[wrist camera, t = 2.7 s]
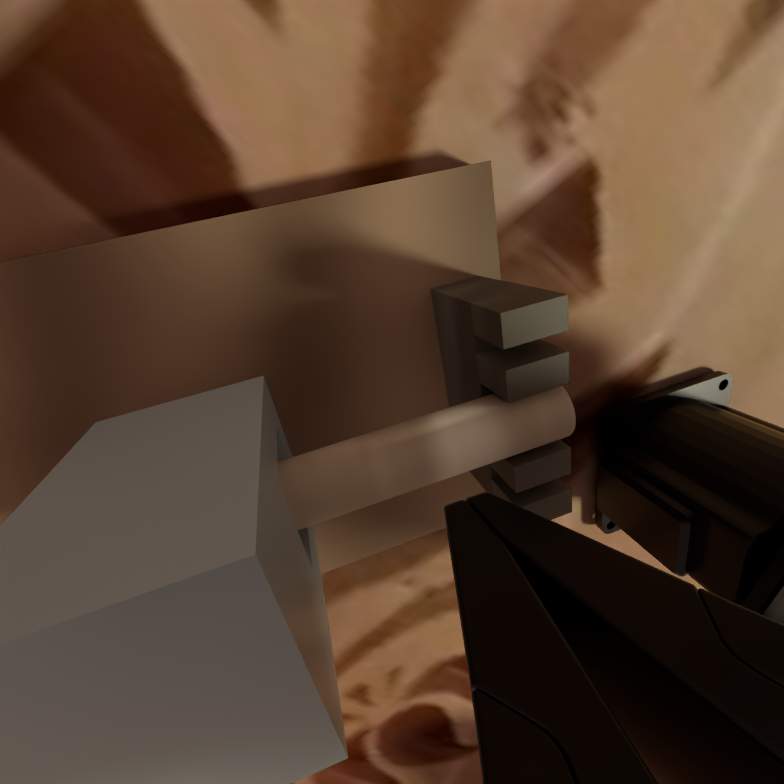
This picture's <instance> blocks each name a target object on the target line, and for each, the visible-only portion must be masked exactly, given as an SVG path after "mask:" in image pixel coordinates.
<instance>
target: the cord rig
mask: <svg viewBox="0 0 784 784" xmlns="http://www.w3.org/2000/svg"><path fill="white" fill-rule="evenodd" d="M568 330H569V323H568V294H563V293H558V292H554V291H549V290H544V289H539V288H535V287H530V286H525V285H520V284H515V283H511V282H506V281H501V276H500V264H499V252H498V240H497V229H496V217H495V205H494V193H493V182H492V170H491V161H486V162H481V163H476V164H471V165H466V166H462V167H457V168H452V169H447V170H442V171H437V172H433V173H428V174H423V175H418V176H413V177H409V178H404V179H399V180H394V181H389V182H384V183H380V184H375V185H370V186H365V187H360V188H355V189H351V190H346V191H341V192H336V193H331V194H327V195H322V196H317V197H312V198H307V199H302V200H298V201H293V202H288V203H283V204H278V205H273V206H269V207H264V208H259V209H254V210H249V211H245V212H240V213H235V214H230V215H225V216H220V217H216V218H211V219H206V220H201V221H196V222H191V223H187V224H182V225H177V226H172V227H167V228H163V229H158V230H153V231H148V232H143V233H138V234H134V235H129V236H124V237H119V238H114V239H110V240H105V241H100V242H95V243H90V244H85V245H81V246H76V247H71V248H66V249H61V250H56V251H52V252H47V253H42V254H37V255H32V256H28V257H23V258H18V259H13V260H8V261H3V262H0V526H1V525H2V524H3V523H4V522H5V520H6V519H7V518H8V517H9V516H10V515H11V514H12V513H13V512H14V511H15V510H16V509H17V507H18V506H19V505H20V504H21V503H22V502H23V501H24V500H25V499H26V498H27V497H28V495H29V494H30V493H31V492H32V491H33V490H34V489H35V488H36V487H37V486H38V485H39V483H40V482H41V481H42V480H43V479H44V478H45V477H46V476H47V475H48V474H49V473H50V472H51V470H52V469H53V468H54V467H55V466H56V465H57V464H58V463H59V462H60V461H61V460H62V458H63V457H64V456H65V455H66V454H67V453H68V452H69V451H70V450H71V449H72V448H73V446H74V445H75V444H76V443H77V442H78V441H79V440H80V439H81V438H82V437H83V436H84V435H85V433H86V432H87V431H88V430H89V429H90V428H91V427H92V426H93V425H94V424H95V423H96V422H98V421H102V420H106V419H109V418H113V417H116V416H120V415H124V414H127V413H131V412H134V411H138V410H142V409H145V408H149V407H152V406H156V405H160V404H163V403H167V402H170V401H174V400H178V399H181V398H185V397H188V396H192V395H196V394H199V393H203V392H206V391H210V390H214V389H217V388H221V387H224V386H228V385H232V384H235V383H239V382H242V381H246V380H250V379H253V378H257V377H260V376H264V378H265V380H266V383H267V386H268V389H269V392H270V394H271V397H272V400H273V403H274V406H275V409H276V411H277V414H278V417H279V420H280V423H281V425H282V428H283V431H284V434H285V437H286V439H287V442H288V445H289V448H290V451H291V453H292V456H293V457H291V458H288V459H285V460H282V461H279V462H278V481H279V484H280V486H281V489H282V491H283V494H284V497H285V499H286V502H287V504H288V507H289V510H290V512H291V515H292V517H293V520H294V523H295V525H296V528H297V530H301V529H304V528H306V527H309V526H312V525H314V530H315V537H316V544H317V550H318V557H319V564H320V571H321V574H322V573H325V572H328V571H331V570H333V569H336V568H339V567H341V566H344V565H347V564H349V563H352V562H355V561H358V560H360V559H363V558H366V557H368V556H371V555H374V554H376V553H379V552H382V551H385V550H387V549H390V548H393V547H395V546H398V545H401V544H403V543H406V542H409V541H412V540H414V539H417V538H420V537H422V536H425V535H428V534H430V533H433V532H436V531H439V530H441V529H444V528H447V527H446V521H445V514H444V506H445V505H447V504H450V503H453V502H456V501H458V500H466V498H467V497H470V496H472V495H475V494H478V493H481V492H489V493H491V494H493V495H496V496H498V497H500V498H502V499H504V500H507V501H509V502H511V503H513V504H516V505H518V506H520V507H522V508H524V509H527V510H529V511H531V512H533V513H535V514H538V515H540V516H542V517H544V518H546V519H549V520H552V519H554V518H557V517H560V516H562V515H565V514H567V513H570V512H572V489H571V488H570V487H569V486H568V485H567V484H566V483H564V482H563V481H562V480H561V479H560V477H562V476H565V475H568V474H570V473H571V447H569V446H568V445H567V444H565V443H564V442H562V441H561V440H560V439H562V438H565V437H568V436H570V435H571V434H572V433H573V431H574V429H575V424H576V416H575V410H574V407H573V404H572V401H571V399H570V397H569V395H568V393H567V391H566V390H565V389H564V387H563V385H566V384H569V383H570V378H569V351H567V350H564V349H562V348H559V347H557V346H554V345H552V344H549V343H547V342H544V341H542V340H539V339H541V338H544V337H548V336H551V335H555V334H558V333H561V332H565V331H568Z"/></svg>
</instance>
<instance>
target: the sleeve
mask: <svg viewBox="0 0 784 784" xmlns="http://www.w3.org/2000/svg"><path fill="white" fill-rule="evenodd" d="M291 457H293V456H292V453H291V451H290V448H289V445H288V442H287V439H286V437H285V434H284V431H283V428H282V425H281V423H280V420H279V417H278V414H277V411H276V409H275V406H274V403H273V400H272V397H271V394H270V392H269V389H268V386H267V383H266V380H265V378H264V376H260V377H257V378H253V379H250V380H246V381H242V382H239V383H235V384H232V385H228V386H224V387H221V388H217V389H214V390H210V391H206V392H203V393H199V394H196V395H192V396H188V397H185V398H181V399H178V400H174V401H170V402H167V403H163V404H160V405H156V406H152V407H149V408H145V409H142V410H138V411H134V412H131V413H127V414H124V415H120V416H116V417H113V418H109V419H106V420H102V421H98V422H96V423H95V424H94V425H93V426H92V427H91V428H90V429H89V430H88V431H87V432H86V433H85V435H84V436H83V437H82V438H81V439H80V440H79V441H78V442H77V443H76V444H75V445H74V446H73V448H72V449H71V450H70V451H69V452H68V453H67V454H66V455H65V456H64V457H63V458H62V460H61V461H60V462H59V463H58V464H57V465H56V466H55V467H54V468H53V469H52V470H51V472H50V473H49V474H48V475H47V476H46V477H45V478H44V479H43V480H42V481H41V482H40V483H39V485H38V486H37V487H36V488H35V489H34V490H33V491H32V492H31V493H30V494H29V495H28V497H27V498H26V499H25V500H24V501H23V502H22V503H21V504H20V505H19V506H18V507H17V509H16V510H15V511H14V512H13V513H12V514H11V515H10V516H9V517H8V518H7V519H6V520H5V522H4V523H3V524H2V525H1V526H0V784H292V783H294V782H296V781H299V780H301V779H303V778H305V777H307V776H310V775H312V774H314V773H316V772H318V771H321V770H323V769H325V768H327V767H329V766H332V765H334V764H336V763H338V762H340V761H343V760H345V759H347V758H348V753H347V747H346V740H345V733H344V726H343V720H342V713H341V706H340V699H339V692H338V686H337V679H336V672H335V665H334V659H333V652H332V645H331V638H330V632H329V625H328V618H327V611H326V605H325V598H324V591H323V584H322V577H321V571H320V564H319V557H318V550H317V544H316V537H315V530H314V525H312V526H309V527H306V528H304V529H301V530H297V528H296V525H295V523H294V520H293V517H292V515H291V512H290V510H289V507H288V504H287V502H286V499H285V497H284V494H283V491H282V489H281V486H280V484H279V481H278V462H279V461H282V460H285V459H288V458H291Z"/></svg>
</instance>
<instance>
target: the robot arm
mask: <svg viewBox="0 0 784 784" xmlns="http://www.w3.org/2000/svg"><path fill="white" fill-rule="evenodd" d="M732 383H733V377H732V376H731V375H730V374H727V373H724V372H721V371H716V372H713V373H710V374H707V375H704V376H701V377H698V378H695V379H692V380H689V381H686V382H683V383H680V384H677V385H675V386H672V387H669V388H666V389H663V390H660V391H657V392H654V393H651V394H648V395H645V396H642V397H639V398H636V399H634V400H631V401H628V402H625V403H622V404H619V405H616V406H613V407H610V408H607V409H606V410H604V411H603V412H602V413H601V414H600V416H599V418H598V422H597V489H596V525H597V527H598V528H600V529H601V530H602V531H603V532H604V533H606V534H609V533H613V532H615V531H618V530H620V529H622V530H623V531H624V532H625V533H626V534H628V535H629V536H630V537H631V538H632V539H633V540H635V541H636V542H637V543H638V544H639V545H641V546H642V547H643V548H644V549H645V550H646V551H648V552H649V553H650V554H651V555H652V556H654V557H655V558H656V559H657V560H658V561H659V562H661V563H662V564H663V565H664V566H665V567H667V568H668V569H669V570H670V571H671V572H673V573H674V574H676V575H678V576H685V575H687V574H688V575H689V576H690V577H692V578H693V579H694V580H695V581H697V582H698V583H699V584H700V585H701V586H703V587H704V588H705V589H706V590H707V591H706V590H704V589H698V590H697V589H696V587H695V586H694V585H693V584H690V583H688V582H686V581H684V580H681V579H679V578H677V577H675V576H673V575H670V574H668V573H666V572H664V571H662V570H659V569H657V568H655V567H653V566H650V565H648V564H646V563H644V562H642V561H639V560H637V559H635V558H633V557H631V556H628V555H626V554H624V553H622V552H620V551H617V550H615V549H613V548H611V547H608V546H606V545H604V544H602V543H600V542H597V541H595V540H593V539H591V538H589V537H586V536H584V535H582V534H580V533H577V532H575V531H573V530H571V529H569V528H566V527H564V526H562V525H560V524H558V523H555V522H553V521H551V520H549V519H546V518H544V517H542V516H540V515H538V514H535V513H533V512H531V511H529V510H527V509H524V508H522V507H520V506H518V505H516V504H513V503H511V502H509V501H507V500H504V499H502V498H500V497H498V496H496V495H493V494H491V493H489V492H481V493H478V494H475V495H472V496H470V497H467V498H466V500H458V501H456V502H453V503H450V504H447V505H445V506H444V514H445V521H446V527H447V534H448V540H449V547H450V554H451V560H452V567H453V574H454V580H455V587H456V594H457V600H458V607H459V613H460V620H461V627H462V633H463V640H464V647H465V653H466V660H467V666H468V673H469V680H470V686H471V692H472V702H473V708H474V715H475V722H476V729H477V737H478V746H479V754H480V762H481V771H482V779H483V784H784V428H781V427H779V426H776V425H774V424H771V423H768V422H766V421H763V420H761V419H758V418H755V417H753V416H750V415H747V414H745V413H742V412H740V411H737V410H734V409H732V408H729V402H730V395H731V389H732ZM611 420H612V421H611ZM610 421H611V422H610ZM708 591H709V592H708Z"/></svg>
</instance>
